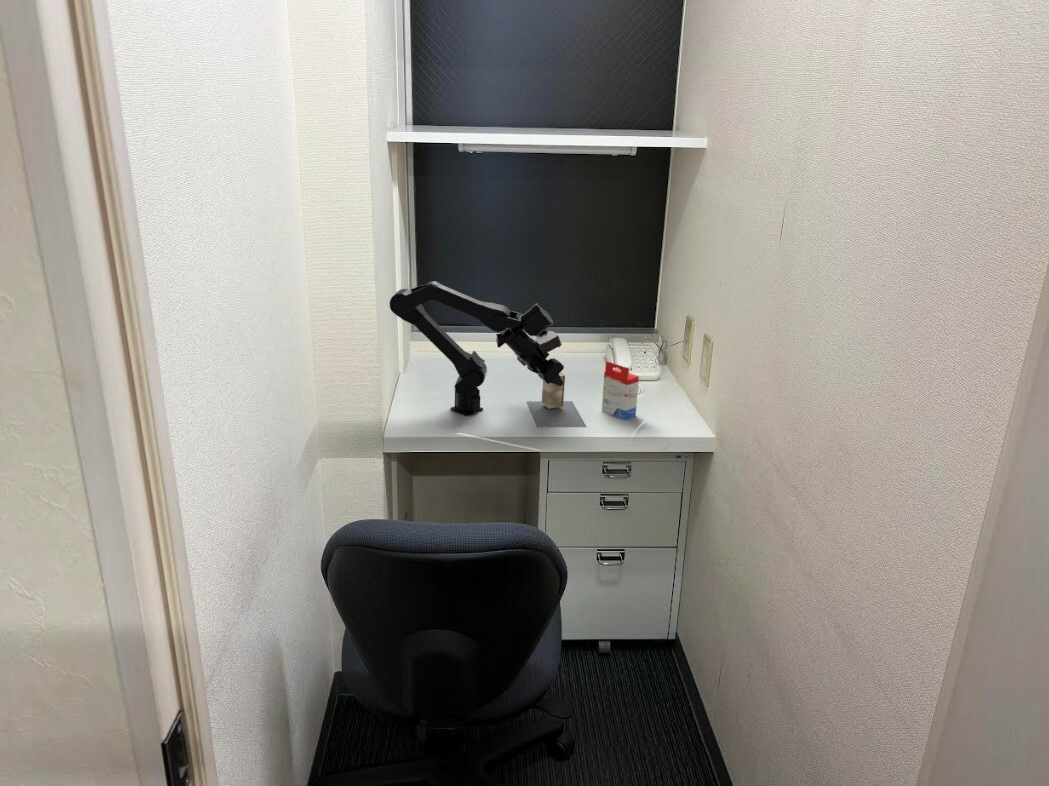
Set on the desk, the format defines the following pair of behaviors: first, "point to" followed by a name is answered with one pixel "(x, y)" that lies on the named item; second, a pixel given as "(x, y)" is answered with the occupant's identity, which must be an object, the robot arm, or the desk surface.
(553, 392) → the beech block
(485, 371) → the robot arm
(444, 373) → the desk surface
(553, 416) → the slate mat
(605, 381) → the ink box
